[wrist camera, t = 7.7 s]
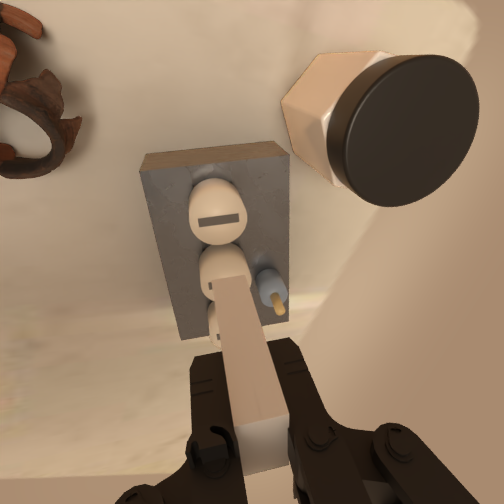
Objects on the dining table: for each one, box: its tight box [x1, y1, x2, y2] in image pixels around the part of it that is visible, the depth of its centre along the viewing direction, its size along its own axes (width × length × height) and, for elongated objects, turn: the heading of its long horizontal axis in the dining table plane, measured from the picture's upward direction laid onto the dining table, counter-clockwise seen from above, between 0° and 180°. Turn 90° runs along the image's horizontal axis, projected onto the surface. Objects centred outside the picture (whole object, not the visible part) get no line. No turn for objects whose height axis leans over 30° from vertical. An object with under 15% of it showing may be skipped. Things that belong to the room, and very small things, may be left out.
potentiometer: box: [255, 269, 288, 315], centre depth 28 cm, size 2×2×4 cm
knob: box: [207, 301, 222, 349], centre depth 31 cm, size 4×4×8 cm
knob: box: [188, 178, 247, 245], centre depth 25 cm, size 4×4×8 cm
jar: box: [281, 51, 479, 207], centre depth 23 cm, size 9×8×12 cm
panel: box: [139, 141, 289, 340], centre depth 30 cm, size 11×17×5 cm, turn 4°
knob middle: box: [199, 243, 252, 301], centre depth 28 cm, size 4×4×8 cm
